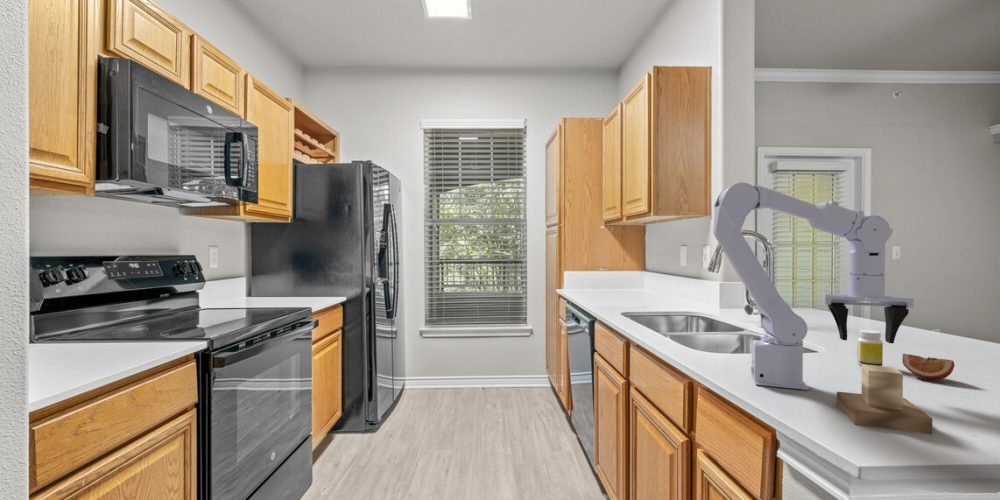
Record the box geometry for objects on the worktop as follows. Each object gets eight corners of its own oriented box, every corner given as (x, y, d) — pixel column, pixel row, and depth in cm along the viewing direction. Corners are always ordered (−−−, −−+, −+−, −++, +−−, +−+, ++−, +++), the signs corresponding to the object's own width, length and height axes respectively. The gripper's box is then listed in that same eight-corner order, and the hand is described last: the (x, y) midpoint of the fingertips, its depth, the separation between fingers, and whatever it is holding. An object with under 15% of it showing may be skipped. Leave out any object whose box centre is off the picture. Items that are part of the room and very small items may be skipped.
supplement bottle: (887, 369, 108) (887, 333, 108) (864, 368, 109) (864, 333, 109) (874, 363, 113) (875, 329, 113) (853, 362, 114) (853, 329, 114)
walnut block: (854, 427, 76) (854, 409, 76) (836, 407, 85) (836, 391, 85) (932, 437, 72) (932, 418, 72) (904, 415, 81) (904, 398, 81)
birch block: (868, 406, 77) (868, 370, 77) (861, 397, 81) (861, 364, 81) (902, 410, 75) (902, 373, 75) (893, 401, 79) (894, 367, 79)
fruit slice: (897, 376, 102) (898, 354, 102) (908, 372, 106) (908, 350, 106) (949, 386, 95) (949, 362, 95) (958, 381, 99) (958, 358, 99)
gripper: (829, 275, 92) (828, 341, 93) (921, 276, 87) (920, 348, 87) (820, 272, 99) (820, 335, 99) (905, 274, 93) (904, 340, 94)
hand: (866, 340), depth 94 cm, fingers open, 7 cm apart
